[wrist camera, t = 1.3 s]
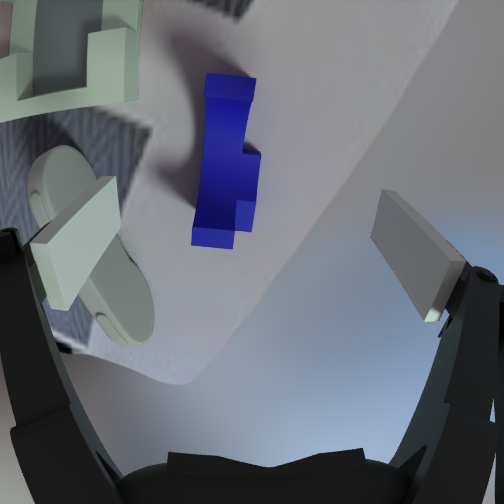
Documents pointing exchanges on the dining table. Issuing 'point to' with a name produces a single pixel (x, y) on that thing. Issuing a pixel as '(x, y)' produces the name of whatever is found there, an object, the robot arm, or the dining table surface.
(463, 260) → the robot arm
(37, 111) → the holder
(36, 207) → the slide sandal
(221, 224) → the cable clip
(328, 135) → the dining table surface
